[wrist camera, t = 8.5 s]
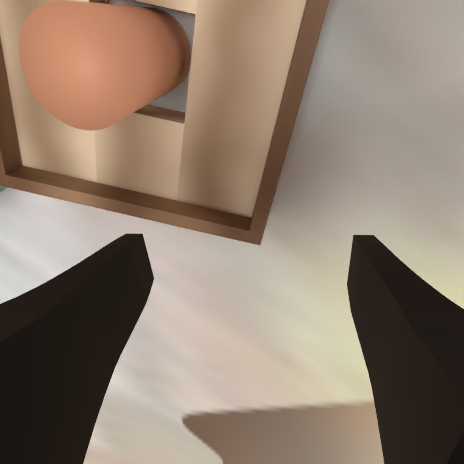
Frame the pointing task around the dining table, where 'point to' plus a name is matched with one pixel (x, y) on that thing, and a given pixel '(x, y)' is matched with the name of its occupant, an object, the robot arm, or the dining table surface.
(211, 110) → the walnut box
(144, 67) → the peg
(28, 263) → the dining table surface
